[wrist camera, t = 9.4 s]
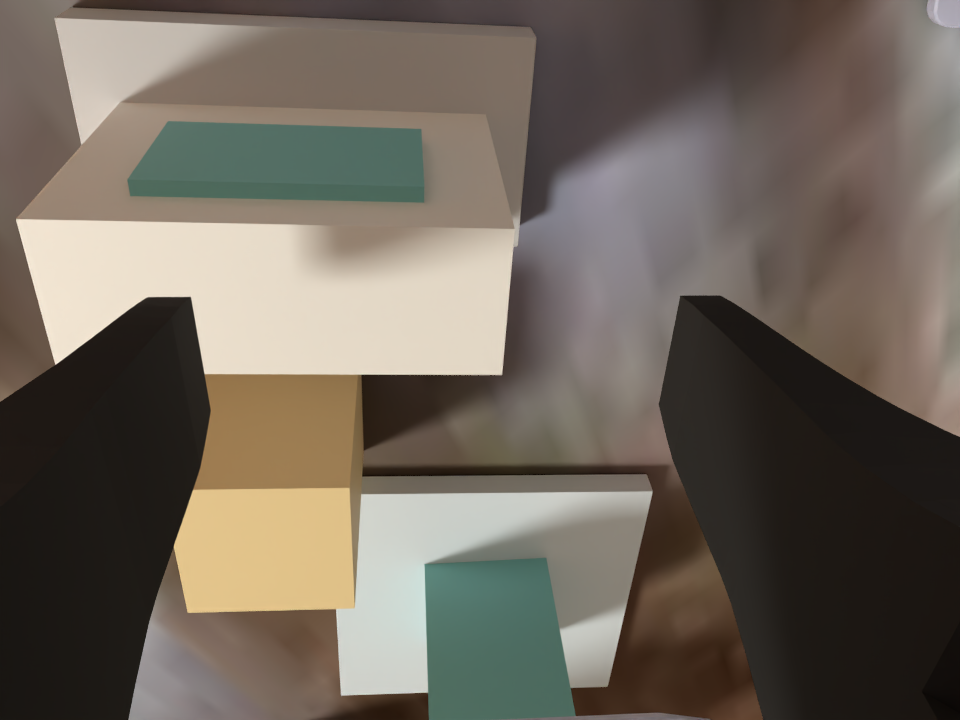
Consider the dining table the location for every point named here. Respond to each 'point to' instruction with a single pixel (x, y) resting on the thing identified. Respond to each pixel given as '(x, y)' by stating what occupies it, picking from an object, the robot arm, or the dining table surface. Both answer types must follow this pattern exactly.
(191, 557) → the ochre block
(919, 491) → the robot arm
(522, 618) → the teal block
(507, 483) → the mat
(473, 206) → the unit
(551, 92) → the dining table surface
